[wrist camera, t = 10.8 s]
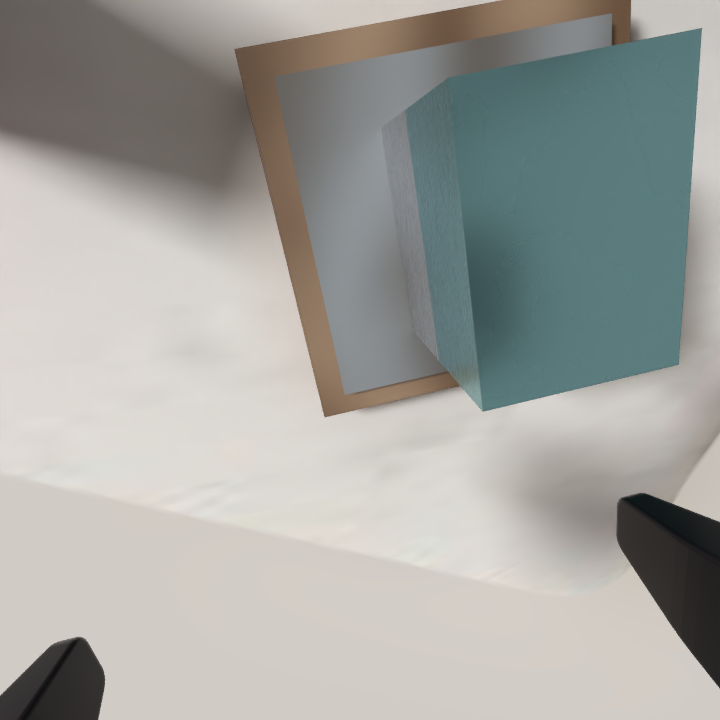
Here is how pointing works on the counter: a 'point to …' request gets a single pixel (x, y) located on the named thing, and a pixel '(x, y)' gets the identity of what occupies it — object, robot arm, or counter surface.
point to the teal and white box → (549, 217)
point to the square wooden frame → (378, 168)
